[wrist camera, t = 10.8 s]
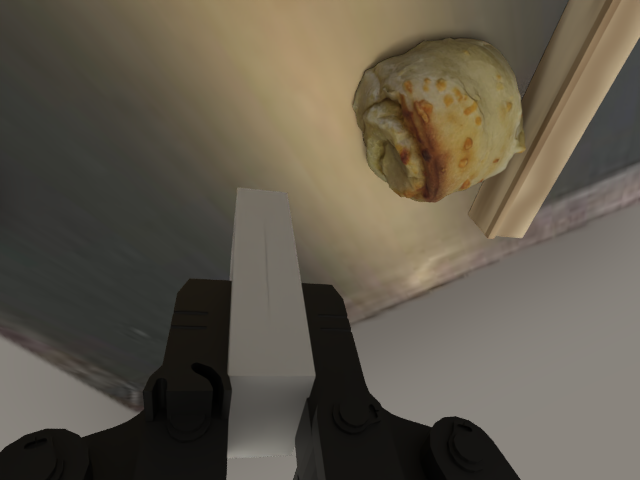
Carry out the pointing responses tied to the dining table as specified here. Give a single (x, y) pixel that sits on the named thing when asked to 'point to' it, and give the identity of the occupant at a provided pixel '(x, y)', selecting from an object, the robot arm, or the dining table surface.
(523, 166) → the wooden block
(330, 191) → the dining table surface
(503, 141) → the pastry
